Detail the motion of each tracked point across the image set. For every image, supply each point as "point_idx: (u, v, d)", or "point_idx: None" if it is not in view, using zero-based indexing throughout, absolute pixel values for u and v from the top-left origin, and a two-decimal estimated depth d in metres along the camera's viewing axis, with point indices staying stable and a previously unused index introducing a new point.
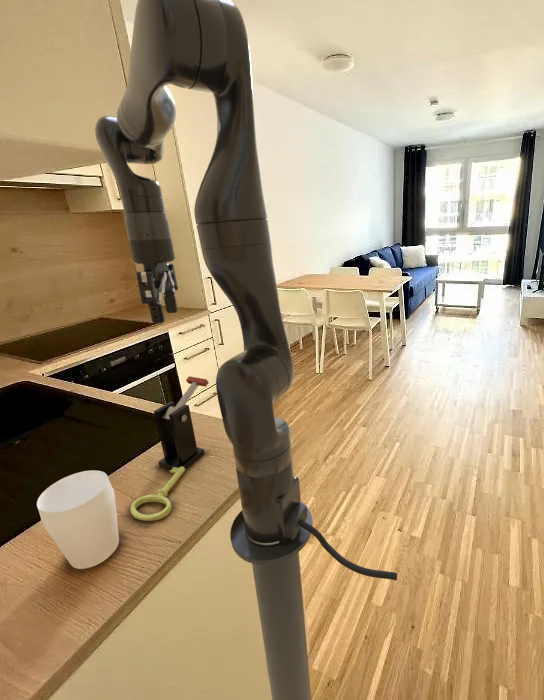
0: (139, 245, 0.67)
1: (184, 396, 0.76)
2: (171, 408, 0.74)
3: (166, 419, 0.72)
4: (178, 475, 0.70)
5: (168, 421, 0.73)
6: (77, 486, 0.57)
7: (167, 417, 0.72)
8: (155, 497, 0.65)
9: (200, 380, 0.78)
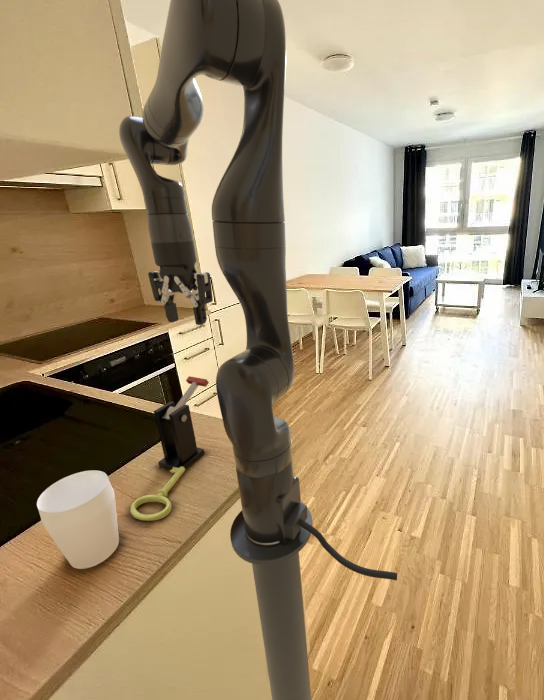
0: (184, 246, 0.67)
1: (184, 396, 0.76)
2: (171, 408, 0.74)
3: (166, 419, 0.72)
4: (178, 475, 0.70)
5: (168, 421, 0.73)
6: (77, 486, 0.57)
7: (167, 417, 0.72)
8: (155, 497, 0.65)
9: (200, 380, 0.78)
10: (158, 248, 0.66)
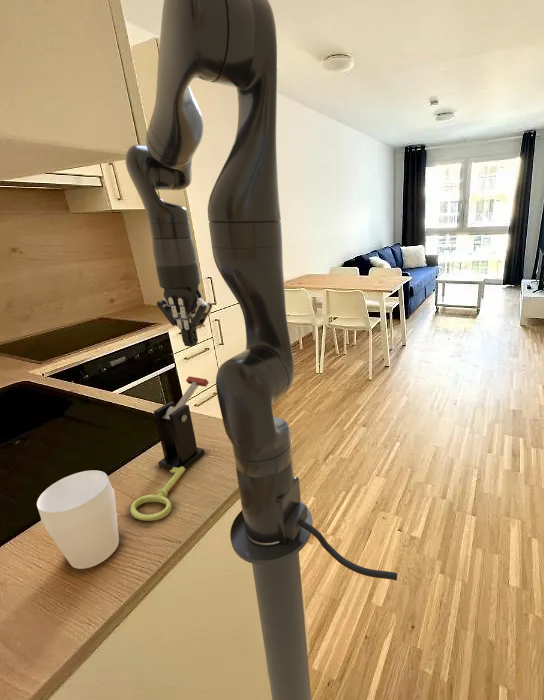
0: (188, 269, 0.69)
1: (184, 396, 0.76)
2: (171, 408, 0.74)
3: (166, 419, 0.72)
4: (178, 475, 0.70)
5: (168, 421, 0.73)
6: (77, 486, 0.57)
7: (167, 417, 0.72)
8: (155, 497, 0.65)
9: (200, 380, 0.78)
10: (163, 271, 0.67)
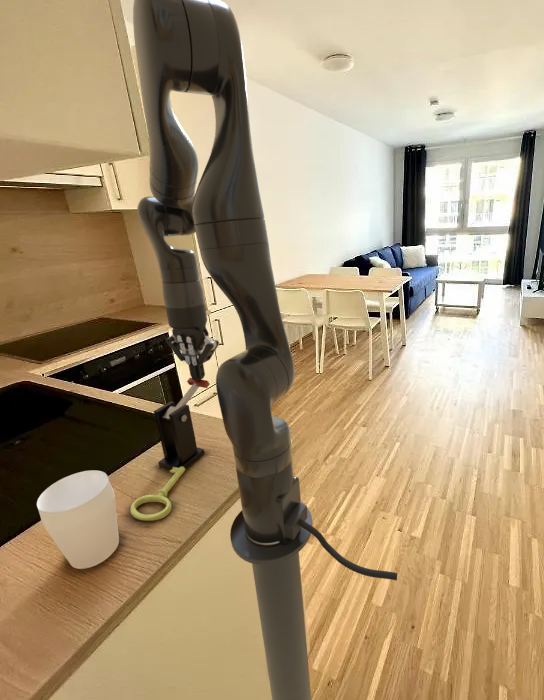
0: (196, 310, 0.72)
1: (185, 397, 0.76)
2: (171, 408, 0.74)
3: (166, 418, 0.72)
4: (178, 475, 0.70)
5: (168, 421, 0.73)
6: (77, 486, 0.57)
7: (167, 417, 0.72)
8: (155, 497, 0.65)
9: (201, 382, 0.79)
10: (172, 313, 0.71)
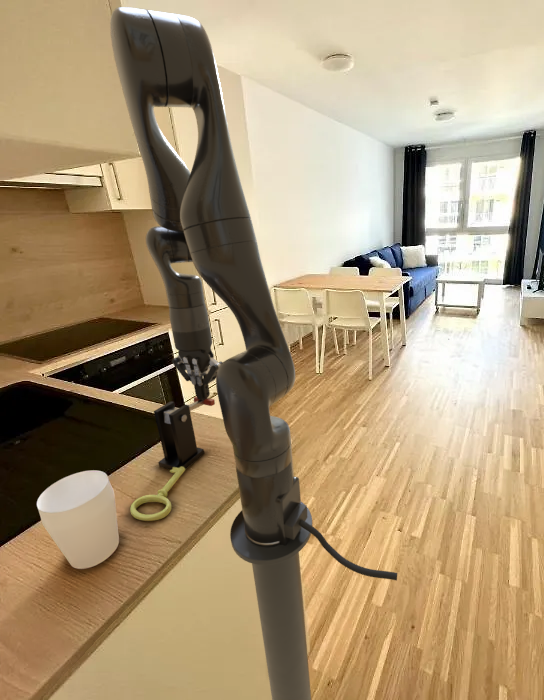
0: (202, 334, 0.74)
1: (189, 405, 0.78)
2: (174, 408, 0.74)
3: (166, 414, 0.72)
4: (178, 475, 0.70)
5: (167, 418, 0.73)
6: (77, 486, 0.57)
7: (169, 412, 0.72)
8: (155, 497, 0.65)
9: (208, 399, 0.81)
10: (179, 336, 0.73)
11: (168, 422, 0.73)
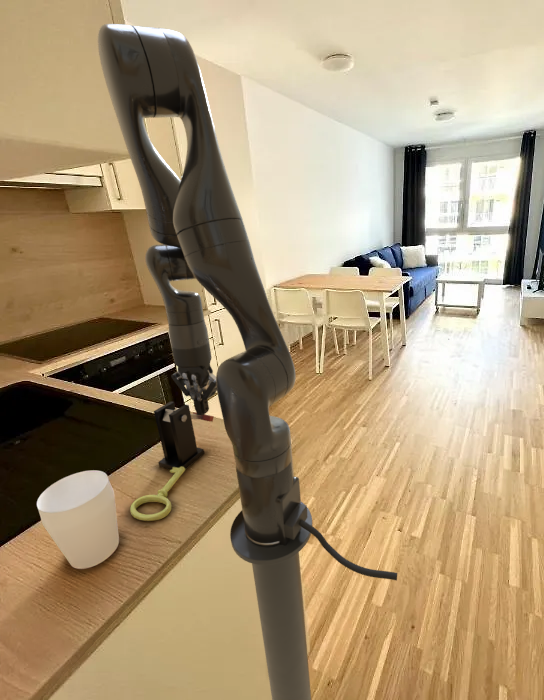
0: (201, 350, 0.74)
1: None
2: None
3: (168, 411, 0.73)
4: (178, 475, 0.70)
5: (167, 415, 0.73)
6: (77, 486, 0.57)
7: (171, 409, 0.73)
8: (155, 497, 0.65)
9: (207, 415, 0.82)
10: (178, 353, 0.73)
11: (167, 420, 0.72)
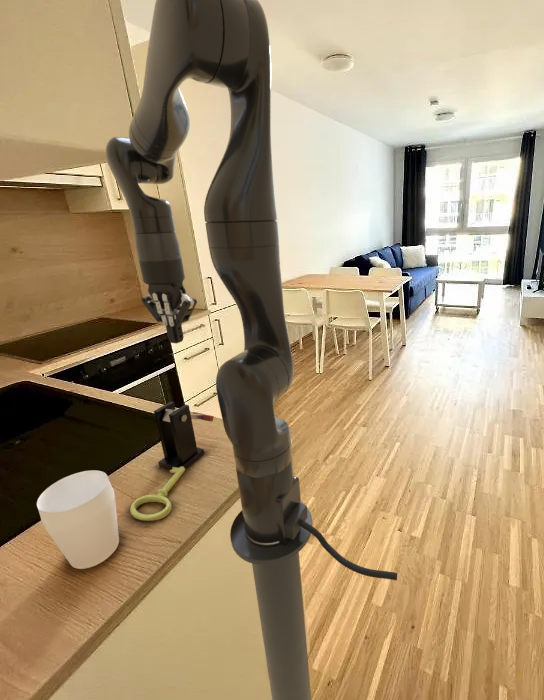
0: (172, 265, 0.67)
1: None
2: None
3: (168, 411, 0.73)
4: (178, 475, 0.70)
5: (167, 415, 0.73)
6: (77, 486, 0.57)
7: (171, 409, 0.73)
8: (155, 497, 0.65)
9: (207, 415, 0.82)
10: (145, 266, 0.66)
11: (167, 420, 0.72)
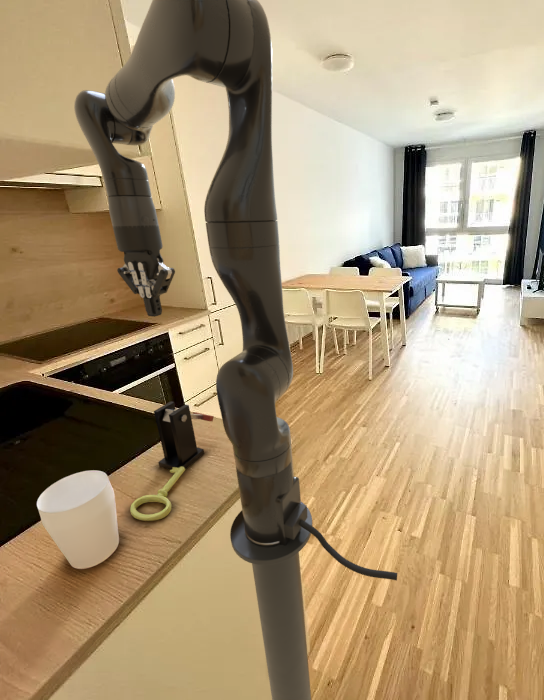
0: (147, 231, 0.64)
1: None
2: None
3: (168, 411, 0.73)
4: (178, 475, 0.70)
5: (167, 415, 0.73)
6: (77, 486, 0.57)
7: (171, 409, 0.73)
8: (155, 497, 0.65)
9: (207, 415, 0.82)
10: (119, 232, 0.63)
11: (167, 420, 0.72)
